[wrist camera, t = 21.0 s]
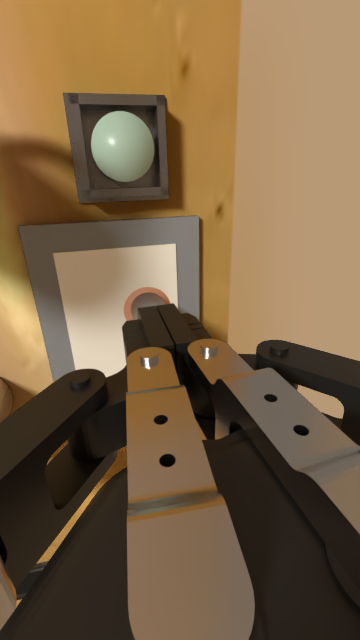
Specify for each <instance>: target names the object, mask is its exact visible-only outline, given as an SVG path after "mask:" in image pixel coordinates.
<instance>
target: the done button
mask: <svg viewBox="0 0 360 640" xmlns="http://www.w3.org/2000/svg"><path fill="white" fill-rule="evenodd" d="M91 149H92V155H93V158H94V161H95V163H96V165H97V166H98V168H99V169H100V170H101V171H102V172H103V173H104V174H105V175H106V176H107V177H109V178H111V179H113V180H116V181H120V182H130V181H134V180H137V179H139V178H140V177H142V176H143V175H144V174H145V173H146V172H147V171H148V169H149V168H150V166H151V164H152V161H153V157H154V142H153V138H152V135H151V133H150V131H149V129H148V127H147V126H146V124H145V123H144V122H143V121H142V120H141V119H140V118H138V117H137V116H135V115H134V114H131V113H129V112H125V111H115V112H111V113H108V114H107V115H105V116H103V117H102V118H101V119H100V120H99V121H98V123H97V124H96V126H95V128H94V130H93V133H92V138H91Z"/></svg>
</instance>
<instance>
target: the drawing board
mask: <svg viewBox="0 0 360 640" xmlns="http://www.w3.org/2000/svg"><path fill="white" fill-rule="evenodd" d="M18 230H19V234H20V238H21V243H22V247H23V251H24V256H25V260H26V264H27V269H28V273H29V277H30V282H31V286H32V290H33V295H34V299H35V303H36V308H37V312H38V316H39V321H40V325H41V329H42V334H43V338H44V342H45V347H46V351H47V355H48V359H49V364H50V368H51V372H52V377H53V381H54V382H55V381H56V380H58V379H59V378H60V377H62V376H63V375H65V374H67V373H69V372H72V371H75V370H79V369H88V368H89V369H96V370H99V371H101V372H103V373H104V375H105V377H108V376H111V375H114V374H116V373H118V372H119V371H121V370H122V369H123V368H124V367H125V366H126V358H125V350H124V342H123V333H122V326H123V325H124V323H125V322H126V321H129V320H133V318H132V314H131V305H132V302H133V300H134V299H135V298H136V297H137V296H138V295H140V294H142V293H146V292H152V293H155V294H157V295H159V296H160V297H161V298H162V299H163V301H164V303H165V304H172V303H174V304H175V306H176V307H177V309H178V311H179V312H180V314H183V313H189V314H191V315H193V316H195V317H196V318H197V319H198V320H199V216H197V215H195V216H178V217H161V218H144V219H126V220H109V221H92V222H75V223H58V224H41V225H23V226H18Z"/></svg>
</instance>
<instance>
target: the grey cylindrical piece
mask: <svg viewBox="0 0 360 640" xmlns="http://www.w3.org/2000/svg"><path fill="white" fill-rule="evenodd" d="M164 304H165V303H164V301H163V299H162V298H161V297H160V296H159V295H157V294H155V293H152V292H146V293H142V294H140V295H138V296H137V297H136V298H135V299H134V300H133V302H132V305H131V314H132V318H133V320H137V319H138V316H137V308H139V307H148V306H156V305H164Z"/></svg>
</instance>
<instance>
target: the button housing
mask: <svg viewBox="0 0 360 640" xmlns="http://www.w3.org/2000/svg"><path fill="white" fill-rule="evenodd" d="M63 97H64V104H65V111H66V117H67V124H68V131H69V137H70V144H71V151H72V157H73V164H74V171H75V177H76V184H77V191H78V197H79V203H96V202H118V201H139V200H161V199H169V187H168V163H167V138H166V114H165V95H136V94H93V93H63ZM115 111H125V112H129V113H131V114H134V115H135V116H137V117H138V118H140V119H141V120H142V121H143V122H144V123H145V124H146V126H147V127H148V129H149V131H150V133H151V135H152V138H153V142H154V157H153V161H152V164H151V166H150V168H149V169H148V171H147V172H146V173H145V174H144V175H143V176H142V177H140V178H139V179H137V180H134V181H130V182H120V181H116V180H113V179H111V178H109V177H107V176H106V175H105V174H104V173H103V172H102V171H101V170H100V169H99V168H98V166H97V165H96V163H95V161H94V158H93V155H92V149H91V138H92V133H93V130H94V128H95V126H96V124H97V123H98V121H99V120H100V119H101V118H102V117H103V116H105V115H107V114H108V113H111V112H115Z"/></svg>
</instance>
